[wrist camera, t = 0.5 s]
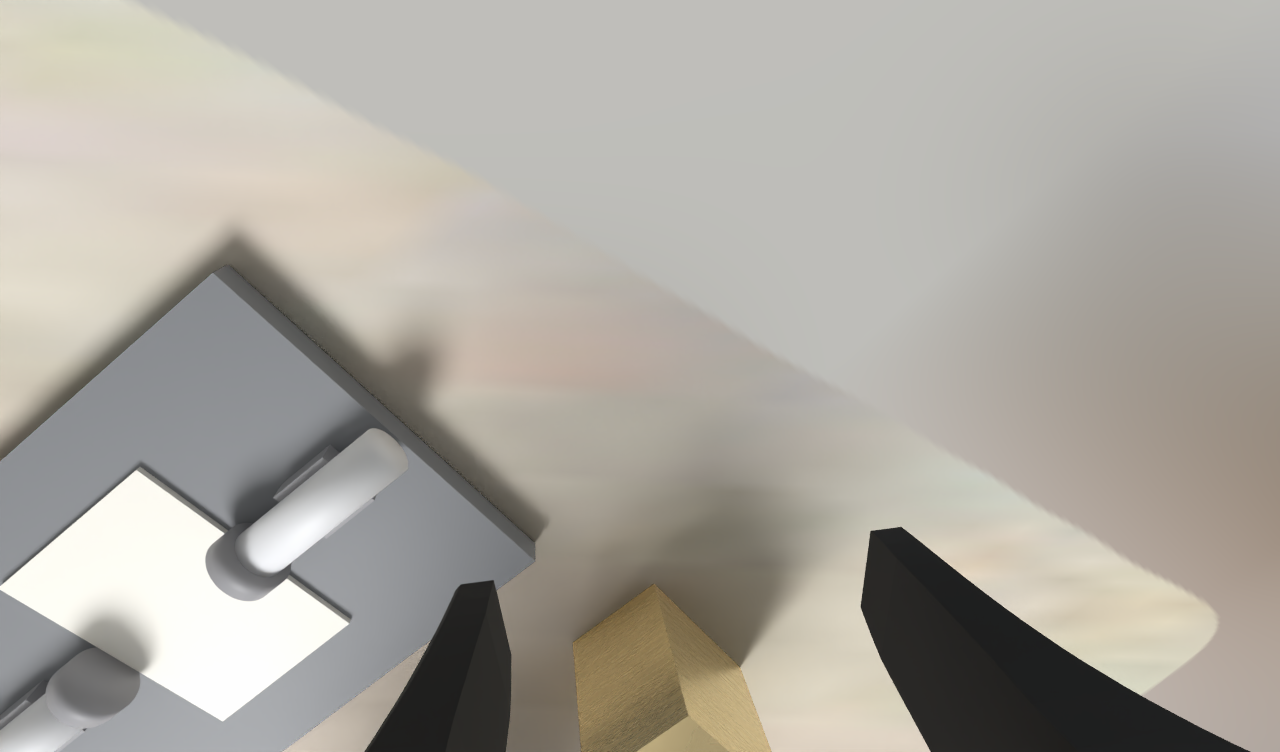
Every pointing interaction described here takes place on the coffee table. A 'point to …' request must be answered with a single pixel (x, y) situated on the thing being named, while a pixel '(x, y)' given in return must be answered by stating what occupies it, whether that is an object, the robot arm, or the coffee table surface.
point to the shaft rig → (223, 542)
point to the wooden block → (660, 685)
